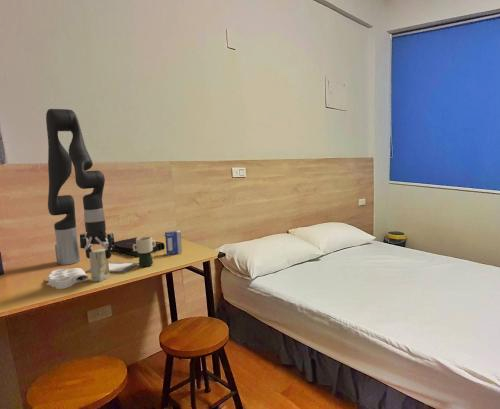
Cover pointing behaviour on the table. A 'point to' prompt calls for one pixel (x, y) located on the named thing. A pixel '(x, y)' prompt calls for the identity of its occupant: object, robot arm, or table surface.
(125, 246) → the diary
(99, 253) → the skincare box
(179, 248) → the walkman
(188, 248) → the table surface
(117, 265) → the notepad
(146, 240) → the character mug
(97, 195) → the robot arm
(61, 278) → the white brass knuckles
